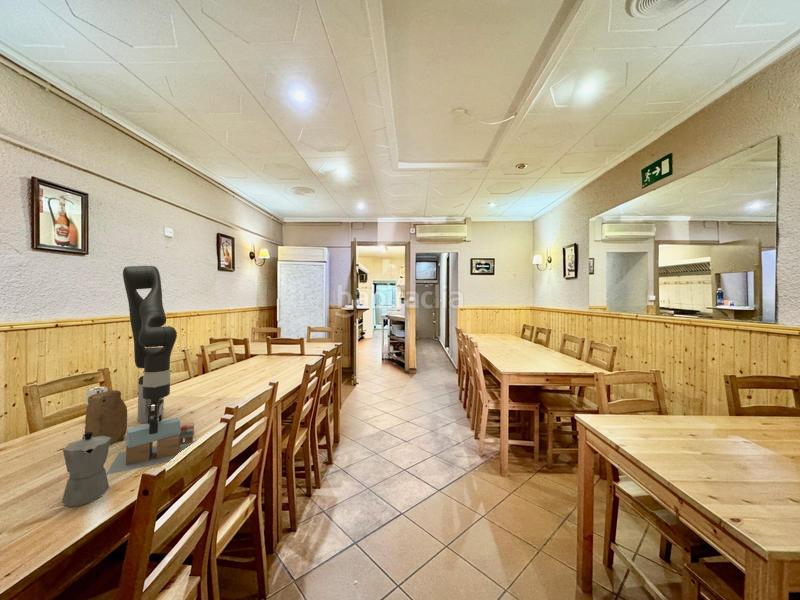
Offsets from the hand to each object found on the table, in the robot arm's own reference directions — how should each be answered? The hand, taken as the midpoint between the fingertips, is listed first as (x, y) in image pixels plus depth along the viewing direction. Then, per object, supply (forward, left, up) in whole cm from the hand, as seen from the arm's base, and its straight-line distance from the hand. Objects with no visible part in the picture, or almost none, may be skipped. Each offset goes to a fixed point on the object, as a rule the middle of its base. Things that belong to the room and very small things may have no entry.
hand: (155, 428), depth 105 cm
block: (-21, -17, -10) cm, 29 cm away
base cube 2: (0, +4, -10) cm, 10 cm away
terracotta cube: (-14, +8, -10) cm, 19 cm away
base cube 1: (0, -4, -10) cm, 10 cm away
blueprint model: (-6, +8, -10) cm, 14 cm away
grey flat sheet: (-1, 0, -10) cm, 10 cm away
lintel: (0, 0, -4) cm, 4 cm away
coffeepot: (+16, -13, -10) cm, 23 cm away
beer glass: (-51, -27, -10) cm, 59 cm away
